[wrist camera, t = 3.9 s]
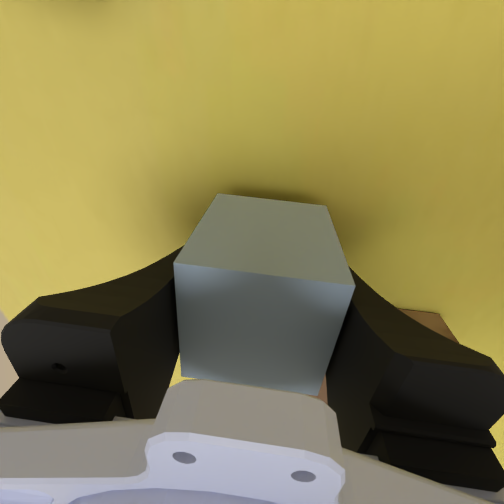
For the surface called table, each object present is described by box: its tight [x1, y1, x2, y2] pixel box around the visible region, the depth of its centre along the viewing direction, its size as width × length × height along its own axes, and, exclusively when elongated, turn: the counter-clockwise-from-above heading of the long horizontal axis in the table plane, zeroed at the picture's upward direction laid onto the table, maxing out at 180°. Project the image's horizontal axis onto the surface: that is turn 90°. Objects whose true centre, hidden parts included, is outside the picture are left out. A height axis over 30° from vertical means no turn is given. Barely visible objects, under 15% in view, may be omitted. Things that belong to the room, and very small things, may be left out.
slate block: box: [173, 193, 355, 396], centre depth 11 cm, size 5×5×6 cm
